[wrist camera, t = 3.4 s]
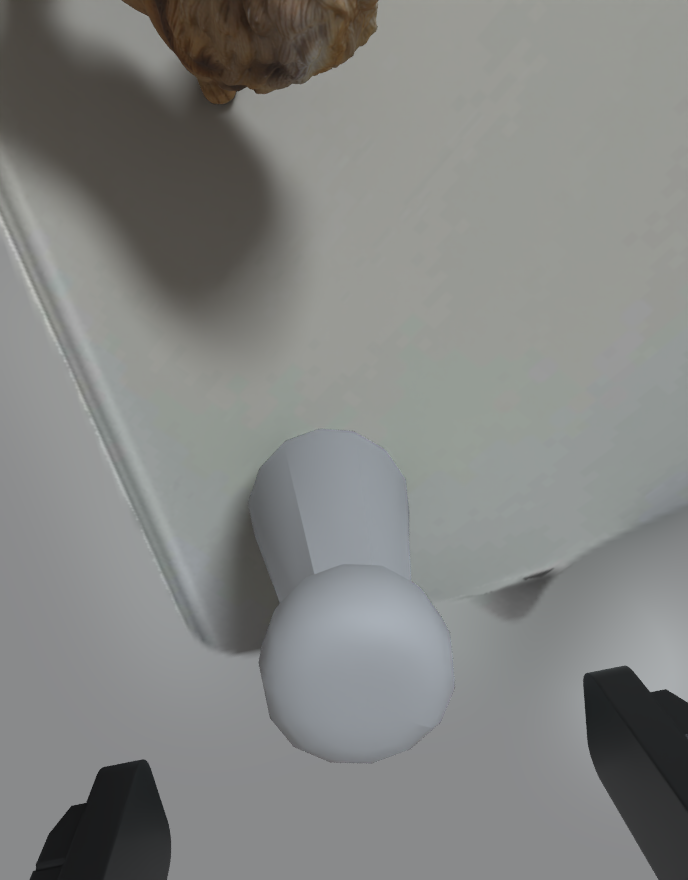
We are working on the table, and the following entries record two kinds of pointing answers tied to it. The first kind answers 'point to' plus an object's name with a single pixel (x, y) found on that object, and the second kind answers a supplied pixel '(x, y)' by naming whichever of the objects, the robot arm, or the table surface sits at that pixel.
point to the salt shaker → (346, 603)
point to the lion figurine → (259, 39)
